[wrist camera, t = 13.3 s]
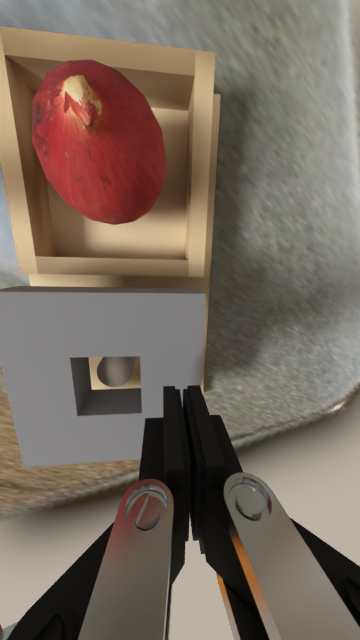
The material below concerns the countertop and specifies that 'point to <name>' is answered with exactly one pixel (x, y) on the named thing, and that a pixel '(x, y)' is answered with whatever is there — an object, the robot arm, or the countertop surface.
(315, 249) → the countertop surface
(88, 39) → the wooden tray
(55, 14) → the countertop surface
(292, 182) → the countertop surface
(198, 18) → the countertop surface
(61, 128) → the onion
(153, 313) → the gray holed slab
